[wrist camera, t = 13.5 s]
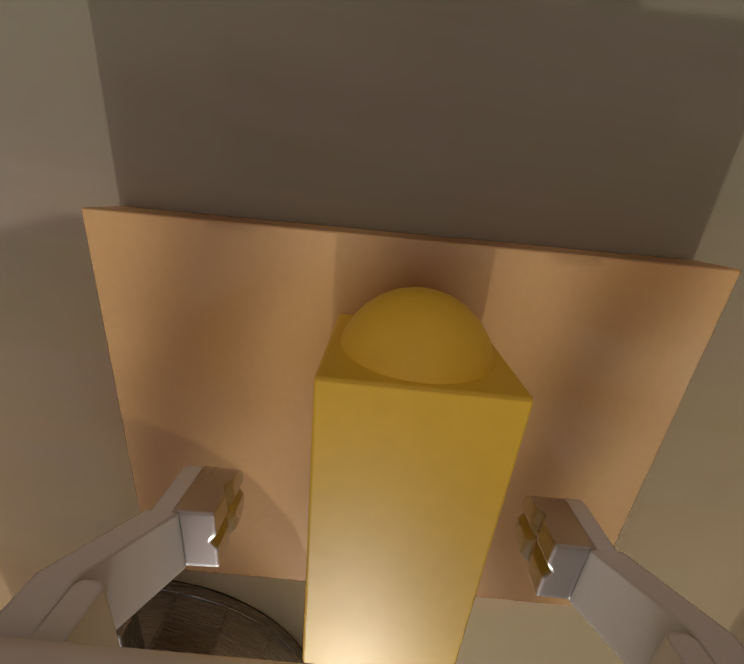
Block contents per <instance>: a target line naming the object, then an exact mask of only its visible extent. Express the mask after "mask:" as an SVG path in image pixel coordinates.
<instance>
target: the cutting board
mask: <svg viewBox="0 0 744 664" xmlns="http://www.w3.org/2000/svg"><path fill="white" fill-rule="evenodd" d="M82 214H83V219H84V225H85V230H86V235H87V240H88V245H89V250H90V256H91V261H92V266H93V271H94V276H95V281H96V287H97V292H98V297H99V302H100V307H101V312H102V318H103V323H104V328H105V333H106V338H107V344H108V349H109V354H110V359H111V364H112V369H113V375H114V380H115V385H116V390H117V395H118V400H119V406H120V411H121V416H122V421H123V426H124V431H125V437H126V442H127V447H128V452H129V457H130V462H131V468H132V473H133V478H134V483H135V488H136V493H137V499H138V504H139V509H140V513H141V512H143V511H145V510H152V509H153V508H154V506H155V505H156V504H157V502H158V501H159V500H160V498H161V497H162V496H163V494H164V493H165V492H166V490H167V489H168V488H169V486H170V485H171V484H172V482H173V481H174V480H175V478H176V477H177V476H178V474H179V473H180V472H181V470H182V469H183V468H184V467H185V466H187V465H189V464H190V465H198V466H210V467H219V468H228V469H236V470H241V471H242V474H243V482H242V484H241V486H240V489H241V490H242V491H243V493H244V506H243V511H242V515H241V519H240V521H239V524H238V526H237V528H236V529H235V530H234V531H233V532H231V533H230V534H229V542H230V544H229V546H228V548H227V550H226V553H225V555H224V557H223V559H222V561H221V564H220V566H219V567H207V566H190V565H186V568H185V569H184V570H192V571H202V572H213V573H224V574H235V575H245V576H256V577H267V578H278V579H288V580H299V581H306V560H307V535H308V511H309V487H310V463H311V439H312V415H313V390H314V377H315V375H316V372H317V370H318V367H319V365H320V362H321V360H322V357H323V354H324V352H325V349H326V347H327V344H328V342H329V339H330V336H331V334H332V331H333V329H334V326H335V324H336V321H337V318H338V316H339V314H349V315H354V314H355V313H356V312H357V311H358V310H359V309H360V308H361V307H362V306H363V305H365V304H366V303H367V302H369V301H370V300H372V299H374V298H375V297H377V296H379V295H380V294H383V293H386V292H389V291H392V290H395V289H398V288H407V287H424V288H430V289H434V290H437V291H440V292H443V293H446V294H448V295H451V296H452V297H454V298H455V299H457V300H458V301H460V302H461V303H463V304H464V305H466V306H467V307H468V308H469V309H470V310H471V311H472V312H473V313H474V314H475V315H476V316H477V318H478V319H479V320H480V322H481V324H482V325H483V327H484V329H485V330H486V332H487V334H488V336H489V339H490V341H491V343H492V344H493V345H494V347H495V348H496V349H497V351H498V352H499V353H500V355H501V356H502V357H503V359H504V360H505V361H506V363H507V364H508V365H509V367H510V368H511V369H512V371H513V372H514V373H515V375H516V376H517V377H518V379H519V380H520V381H521V383H522V384H523V385H524V387H525V388H526V389H527V391H528V392H529V393H530V395H531V396H532V397H533V405H532V409H531V412H530V415H529V419H528V422H527V425H526V429H525V432H524V435H523V439H522V442H521V445H520V449H519V452H518V455H517V459H516V462H515V465H514V469H513V472H512V475H511V479H510V482H509V485H508V489H507V492H506V496H505V499H504V502H503V506H502V509H501V512H500V516H499V519H498V522H497V526H496V529H495V532H494V536H493V539H492V542H491V546H490V549H489V552H488V556H487V559H486V562H485V566H484V569H483V572H482V576H481V579H480V582H479V586H478V589H477V592H476V596H475V597H482V598H493V599H503V600H514V601H525V602H536V603H546V604H557V605H568V606H573V605H572V604H571V603H570V602H569V601H570V600H569V599H560V598H552V597H544V596H537V595H536V593H535V590H534V588H533V585H532V583H531V580H530V578H529V575H528V572H527V568H528V565H529V562H528V561H527V560H526V559H525V558H524V557H523V556H522V555H521V554H520V552H519V549H518V546H517V542H516V538H515V525H516V521H517V518H518V517H519V516H520V515H521V514H523V513H524V511H523V509H522V506H521V505H522V502H523V499H524V498H525V497H526V495H527V496H540V497H552V498H566V499H580V500H581V501H582V502H584V503H585V505H586V506H587V508H588V509H589V511H590V512H591V514H592V515H593V517H594V518H595V520H596V521H597V523H598V524H599V525H600V527H601V528H602V530H603V531H604V533H605V534H606V536H607V537H608V539H609V540H610V542H611V543H612V545H613V546H614V544H615V542H616V540H617V538H618V536H619V534H620V531H621V529H622V527H623V525H624V523H625V521H626V518H627V516H628V514H629V512H630V510H631V508H632V505H633V503H634V501H635V499H636V497H637V495H638V493H639V490H640V488H641V486H642V484H643V482H644V480H645V477H646V475H647V473H648V471H649V469H650V467H651V464H652V462H653V460H654V458H655V456H656V454H657V451H658V449H659V447H660V445H661V443H662V441H663V439H664V436H665V434H666V432H667V430H668V428H669V426H670V423H671V421H672V419H673V417H674V415H675V413H676V410H677V408H678V406H679V404H680V402H681V400H682V397H683V395H684V393H685V391H686V389H687V387H688V385H689V382H690V380H691V378H692V376H693V374H694V372H695V369H696V367H697V365H698V363H699V361H700V359H701V356H702V354H703V352H704V350H705V348H706V346H707V343H708V341H709V339H710V337H711V335H712V333H713V331H714V328H715V326H716V324H717V322H718V320H719V318H720V315H721V313H722V311H723V309H724V307H725V305H726V302H727V300H728V298H729V296H730V294H731V292H732V289H733V287H734V285H735V283H736V281H737V279H738V277H739V274H740V272H741V271H740V270H739V269H735V268H730V267H725V266H720V265H714V264H709V263H704V262H699V261H694V260H684V259H673V258H663V257H652V256H642V255H631V254H621V253H610V252H599V251H589V250H578V249H568V248H557V247H547V246H536V245H525V244H515V243H504V242H494V241H483V240H473V239H462V238H451V237H441V236H430V235H420V234H409V233H399V232H388V231H377V230H367V229H356V228H346V227H335V226H325V225H314V224H304V223H293V222H282V221H272V220H261V219H251V218H240V217H230V216H219V215H208V214H198V213H187V212H177V211H166V210H156V209H145V208H134V207H124V206H115V207H84V208H82Z"/></svg>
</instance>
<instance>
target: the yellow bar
mask: <svg viewBox="0 0 744 664" xmlns="http://www.w3.org/2000/svg"><path fill="white" fill-rule="evenodd" d="M532 405H533V397H532V396H531V395H530V393H529V392H528V391H527V389H526V388H525V387H524V385H523V384H522V383H521V381H520V380H519V379H518V377H517V376H516V375H515V373H514V372H513V371H512V369H511V368H510V367H509V365H508V364H507V363H506V361H505V360H504V359H503V357H502V356H501V355H500V353H499V352H498V351H497V349H496V348H495V347H494V345H493V344H492V343H491V341H490V339H489V336H488V334H487V332H486V330H485V329H484V327H483V325H482V324H481V322H480V320H479V319H478V318H477V316H476V315H475V314H474V313H473V312H472V311H471V310H470V309H469V308H468V307H467V306H466V305H464V304H463V303H461V302H460V301H458V300H457V299H455V298H454V297H452V296H451V295H448V294H446V293H443V292H440V291H437V290H434V289H430V288H424V287H407V288H398V289H395V290H392V291H389V292H386V293H383V294H380V295H379V296H377V297H375V298H374V299H372V300H370V301H369V302H367V303H366V304H365V305H363V306H362V307H361V308H360V309H359V310H358V311H357V312H356V313H355V314H354V315H349V314H339V316H338V318H337V321H336V324H335V326H334V329H333V331H332V334H331V336H330V339H329V342H328V344H327V347H326V349H325V352H324V354H323V357H322V360H321V362H320V365H319V367H318V370H317V372H316V375H315V377H314V390H313V415H312V439H311V463H310V487H309V511H308V535H307V560H306V584H305V608H304V632H303V656H302V659H303V662H305V663H313V664H455V663H456V659H457V656H458V653H459V649H460V646H461V643H462V639H463V636H464V633H465V629H466V626H467V623H468V619H469V616H470V612H471V609H472V606H473V602H474V599H475V596H476V592H477V589H478V586H479V582H480V579H481V576H482V572H483V569H484V566H485V562H486V559H487V556H488V552H489V549H490V546H491V542H492V539H493V536H494V532H495V529H496V526H497V522H498V519H499V516H500V512H501V509H502V506H503V502H504V499H505V496H506V492H507V489H508V485H509V482H510V479H511V475H512V472H513V469H514V465H515V462H516V459H517V455H518V452H519V449H520V445H521V442H522V439H523V435H524V432H525V429H526V425H527V422H528V419H529V415H530V412H531V409H532Z"/></svg>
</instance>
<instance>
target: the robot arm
mask: <svg viewBox="0 0 744 664" xmlns="http://www.w3.org/2000/svg"><path fill="white" fill-rule="evenodd" d="M242 482H243V474H242V471H241V470H236V469H228V468H219V467H210V466H198V465H190V464H189V465H187V466H185V467H184V468H183V469H182V470H181V472H180V473H179V474H178V476H177V477H176V478H175V480H174V481H173V482H172V484H171V485H170V486H169V488H168V489H167V490H166V492H165V493H164V494H163V496H162V497H161V498H160V500H159V501H158V502H157V504H156V505H155V506H154V508H153V509H152V510H145V511H143V512H141V513H140V514H138V515H136V516H134V517H133V518H131V519H129V520H128V521H126V522H124V523H122V524H121V525H119V526H117V527H115V528H114V529H112V530H110V531H108V532H107V533H105V534H103V535H102V536H100V537H98V538H96V539H95V540H93V541H91V542H89V543H88V544H86V545H84V546H82V547H81V548H79V549H77V550H76V551H74V552H72V553H70V554H69V555H67V556H65V557H63V558H62V559H60V560H58V561H56V562H55V563H53V564H51V565H50V566H48V567H46V568H44V569H43V570H41V571H39V572H37V573H36V574H35V575H34V576H33V577H32V578H31V580H30V581H29V582H28V583H27V584H26V585H25V586H24V587H23V588H22V589H21V590H20V591H19V592H18V593H17V594H16V596H15V597H14V598H13V599H12V600H11V601H10V602H9V603H8V604H7V605H6V606H5V607H4V608H3V609H2V611H1V612H0V664H305V663H294V662H283V661H272V660H261V659H249V658H238V657H227V656H216V655H205V654H193V653H182V652H171V651H160V650H149V649H137V648H126V647H120V644H119V640H118V636H117V633H116V630H117V629H118V628H119V627H120V626H121V625H122V624H123V623H124V622H126V621H127V620H128V619H129V618H130V617H131V616H132V615H133V614H134V613H136V612H137V611H138V610H139V609H140V608H141V607H142V606H143V605H145V604H146V603H147V602H148V601H149V600H150V599H151V598H152V597H153V596H155V595H156V594H157V593H158V592H159V591H160V590H161V589H162V588H163V587H165V586H166V585H167V584H168V583H169V582H170V581H171V580H172V579H174V578H175V577H176V576H177V575H178V574H179V573H180V572H181V571H182V570H184V569H185V568H186V565H190V566H207V567H219V566H220V564H221V561H222V559H223V557H224V555H225V553H226V550H227V548H228V546H229V544H230V542H229V534H230V533H231V532H233V531H234V530H235V529H236V528H237V526H238V524H239V521H240V519H241V515H242V511H243V506H244V493H243V491H242V490H241V489H240V486H241V484H242ZM521 506H522V509H523V511H524V513H523V514H521V515H520V516H519V517H518V518H517V521H516V525H515V538H516V542H517V546H518V549H519V552H520V554H521V555H522V556H523V557H524V558H525V559H526V560H527V561H528V562H529V565H528V568H527V572H528V575H529V578H530V580H531V583H532V585H533V588H534V590H535V593H536V595H537V596H544V597H552V598H560V599H569V600H570V601H569V602H570V603H571V604H572V605H573V606H574V607H575V608H576V610H577V611H578V612H579V613H580V614H581V615H582V616H583V617H584V619H585V620H586V621H587V622H588V623H589V624H590V625H591V626H592V627H593V629H594V630H595V631H596V632H597V633H598V634H599V635H600V636H601V638H602V639H603V640H604V641H605V642H606V643H607V644H608V645H609V647H610V648H611V649H612V650H613V651H614V652H615V653H616V654H617V656H618V657H619V658H620V659H621V660H622V661H623V662H624V663H625V664H744V647H743V646H742V644H741V643H740V642H739V641H738V639H737V638H736V637H735V636H734V635H733V634H731V633H730V632H729V631H727V630H726V629H725V628H723V627H722V626H721V625H719V624H718V623H717V622H715V621H714V620H713V619H711V618H710V617H709V616H707V615H706V614H705V613H703V612H702V611H701V610H699V609H698V608H697V607H695V606H694V605H693V604H691V603H690V602H689V601H687V600H686V599H685V598H683V597H682V596H680V595H679V594H678V593H676V592H675V591H674V590H672V589H671V588H670V587H668V586H667V585H666V584H664V583H663V582H662V581H660V580H659V579H658V578H656V577H655V576H654V575H652V574H651V573H650V572H648V571H647V570H646V569H644V568H643V567H642V566H640V565H639V564H638V563H636V562H635V561H634V560H632V559H631V558H630V557H628V556H627V555H626V554H624V553H622V552H617V551H616V549H615V548H614V546H613V545H612V543H611V542H610V540H609V539H608V537H607V536H606V534H605V533H604V531H603V530H602V528H601V527H600V525H599V524H598V523H597V521H596V520H595V518H594V517H593V515H592V514H591V512H590V511H589V509H588V508H587V506H586V505H585V503H584V502H582V501H581V500H580V499H566V498H552V497H540V496H527V495H526V497H525V498H524V499H523V502H522V505H521Z"/></svg>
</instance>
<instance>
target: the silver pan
mask: <svg viewBox="0 0 744 664" xmlns="http://www.w3.org/2000/svg"><path fill="white" fill-rule="evenodd" d="M116 633H117V636H118V640H119V644H120V647H126V648H137V649H149V650H160V651H171V652H182V653H193V654H205V655H216V656H227V657H238V658H249V659H261V660H272V661H283V662H294V663H305V662H303V659H302V656H303V651H302V650H301V648H300V647H299V645H298V644H297V643H296V641H295V640H294V639H293V638H292V637H291V636H290V635H289V634H288V633H287V632H286V631H285V630H284V629H282V628H281V627H280V626H279V625H278V624H276V623H275V622H274V621H273V620H271V619H270V618H268V617H267V616H265V615H263V614H262V613H260V612H259V611H257V610H256V609H254V608H252V607H250V606H248V605H246V604H244V603H242V602H240V601H238V600H235V599H233V598H231V597H228V596H226V595H223V594H221V593H218V592H214V591H211V590H208V589H205V588H202V587H198V586H193V585H189V584H184V583H180V582H173V581H170V582H169V583H168V584H167V585H166V586H165V587H163V588H162V589H161V590H160V591H159V592H158V593H157V594H156V595H155V596H153V597H152V598H151V599H150V600H149V601H148V602H147V603H146V604H145V605H143V606H142V607H141V608H140V609H139V610H138V611H137V612H136V613H134V614H133V615H132V616H131V617H130V618H129V619H128V620H127V621H126V622H124V623H123V624H122V625H121V626H120V627H119V628H118V629H117V630H116ZM305 664H309V663H305Z"/></svg>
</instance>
